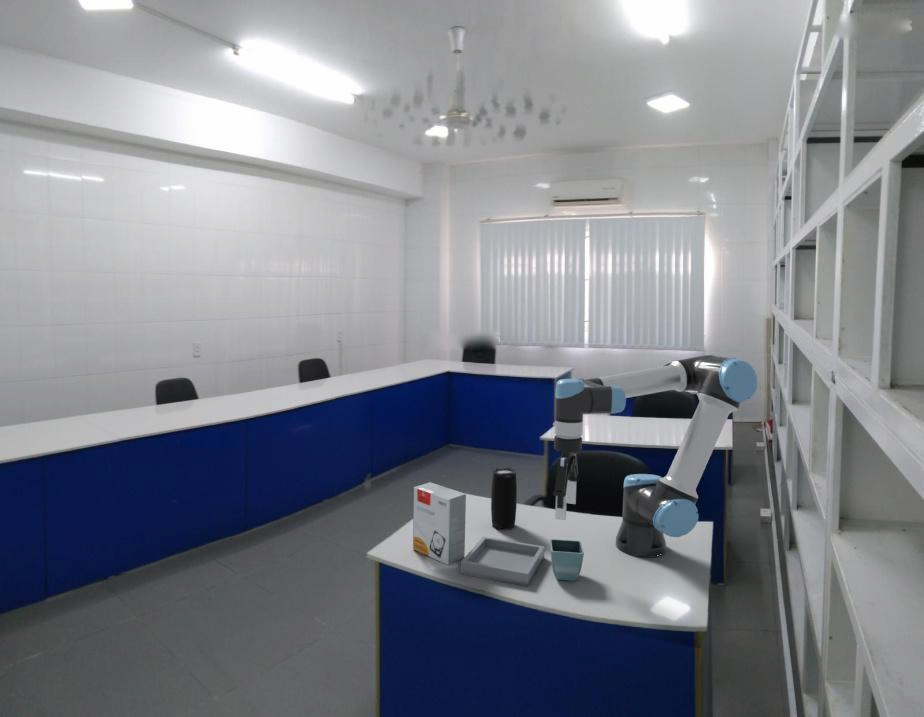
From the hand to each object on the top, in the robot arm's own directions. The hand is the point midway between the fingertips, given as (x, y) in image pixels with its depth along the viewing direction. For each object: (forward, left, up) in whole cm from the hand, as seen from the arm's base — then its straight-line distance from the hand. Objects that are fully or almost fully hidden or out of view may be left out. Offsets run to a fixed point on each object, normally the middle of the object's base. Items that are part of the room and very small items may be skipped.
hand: (565, 511), depth 164 cm
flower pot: (0, 0, -19) cm, 19 cm away
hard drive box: (+38, 0, -19) cm, 43 cm away
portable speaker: (+27, -29, -19) cm, 43 cm away
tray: (+18, 0, -19) cm, 26 cm away
